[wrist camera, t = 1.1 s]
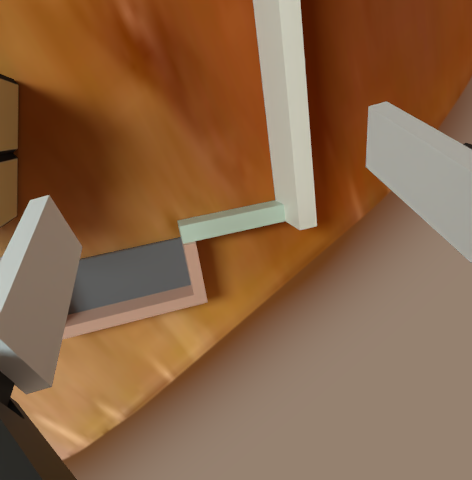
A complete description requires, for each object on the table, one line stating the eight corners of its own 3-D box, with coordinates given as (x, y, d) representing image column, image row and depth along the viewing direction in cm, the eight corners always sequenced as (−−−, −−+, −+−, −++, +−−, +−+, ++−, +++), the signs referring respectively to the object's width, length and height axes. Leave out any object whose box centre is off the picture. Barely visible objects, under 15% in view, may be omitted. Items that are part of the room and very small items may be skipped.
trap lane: (-325, -159, 18) (-486, -258, 13) (256, -160, 24) (283, -230, 19) (-62, 355, 29) (-101, 399, 24) (297, 266, 34) (321, 287, 30)
